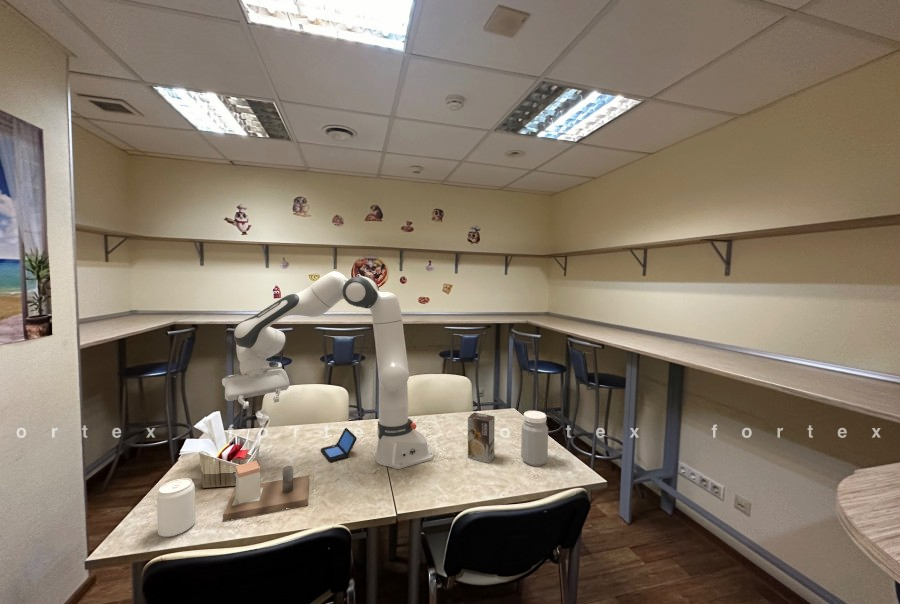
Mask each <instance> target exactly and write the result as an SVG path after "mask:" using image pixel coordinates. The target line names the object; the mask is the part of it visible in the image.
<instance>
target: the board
mask: <svg viewBox="0 0 900 604" xmlns="http://www.w3.org/2000/svg"><path fill="white" fill-rule="evenodd" d="M281 470H282V471H281V473H282V477H281V478H282V479H277V480H273V481H266V482H260V489H261V497H259V498H256V499H253V500H250V501H247V502H244V503H241V504H239V502H238V499H237V496H236V486H235V487H234V488H233V490H232V493H231V495H230V498H229V499H228V502H227V505H226V507H225V509H224V511H223V514H222V522H228V521H231V519H234V520H238V519H237V518H239V519H243V517H244V518H249V517H254V516H253V515H255V516H259V514H260V515H265V514H269V512H270V513H274V512H273V511H276V512H279V511H278V510H281V511H283V510H282V509H286V508H291V509H295V508H294V507H297V508H301V507H300V506H302V507H307V506H308V505H309V494H310V493H309V491H310V474H309V475H302V476H296V477H294V466H292V465H285V466H283V468H282V469H281ZM306 505H307V506H306ZM286 510H287V509H286ZM264 513H265V514H264ZM248 516H249V517H248ZM227 520H228V521H227Z"/></svg>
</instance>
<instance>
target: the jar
mask: <svg viewBox="0 0 900 604" xmlns="http://www.w3.org/2000/svg"><path fill="white" fill-rule="evenodd" d="M520 437H521V440H520V441H521V442H520V443H521V446H520V447H521V448H520V449H521V451H520V457H521V459H522V460H523V462H524V463H525V464H527V465H529V466H533V467H541V466H543V465H545V464H546V463H547V461H548V457H549V456H548V453H549V452H548V451H549V450H548V449H549V447H548V446H549V427H548V425H547V414H546V413H545V412H542V411H540V410H539V411H538V410H527V411H525V412H524V413H523V423H522V424H521V436H520Z"/></svg>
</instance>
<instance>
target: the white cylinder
mask: <svg viewBox="0 0 900 604" xmlns="http://www.w3.org/2000/svg"><path fill="white" fill-rule="evenodd" d="M195 489H196V487H195V483H194V482H193V480H192V478H188V477H185V478H178V479H173V480H171V481H168V482H166V483H163V485H161V486H160V487H159V489H158V492H157V493H156V515H157V516H156V519H157V521H156V522H157V533H158V535H159V536H160V537H174V536H177V534H178V535H180V534H182V533H185V532H186V531H188V530H189V529H190V528H192V527H193V525H195V523H196V494H195V491H196V490H195Z"/></svg>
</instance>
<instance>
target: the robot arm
mask: <svg viewBox="0 0 900 604" xmlns="http://www.w3.org/2000/svg"><path fill="white" fill-rule="evenodd" d="M379 288H380V287H379V285H378V283H377V282H376V281H375V280H374V279H373V278H370V277H368V276H362V275H360V276H353V277H350V278H347V277H346V276H345V275H344V274H342V273H341V272H339V271H334V270H333V271H330V272H328V273H326V274H325V275H323V276H322V277H319V278H318V279H317V280H316V281H314V282H313V283H312V284H311V285H309V286H308V287H306V288H305V289H302V290H301V291H298V292H295V293H293V294H292V293H291V294H287V295H285V296H284V297H282V298H281V299H278V300H277V301H275V302H273V303H272V304H271V305H269V306H267V307H265V308H264V309H262V310H261V311H260V312H258V313H256V314H255V315H253V316H251V317H248V318H246V319H244V320H242V321H240V322H239V323H238V324H237V325H236V327H235V328H234V330H233V338H234V339H233V340H234V341H235V343H236V350H235V351H236V355H237V356H236V357H237V359H238V362H239V371H240V373H237V374H230V375H229V374H228V375H226V376H225V377H223V378H222V379H221V385H222V387H224V399H225V400H226V401H227V402H232V401H238V403H239V404H240V405H241V406H242V408H243V410H246V409H249V408H250V404H249V401H245V399H246V398H251V397H253V398H254V397H257V396H262V395H267V394H268V395H269V394H273V393H275V395H274V396H273V398H272V400H273V403H279V402H280V397H279V396H280V394H281V392H284V391H287V390H288V389H289V388H290V384H291V383H290V378H289V376H288V374H287V371H286V370H285V369H283V365H282V363H281V362H279V361H269V360H267V359H270V358H272V357H273V356H274V357H275V356H276V355H277V354H279V353H281V352H282V351H283V350H284V348H285V346H286V343H287V338H286V334H285V333H284V332H283V331H281V330H279V329H277V328H274V327H272V325H274V324H276V323H277V322H278V321H279V320H282V319H283V318H285V317H288V316H304V317H309V318H314V317H315V318H317V317H320V316H322V315H324V314H325V313H327V312H329V310H330V309H331V308H333V307H334V306H335V305H337V304H338V303H339V302H340V301H342V300H344V301H346V303H348V304H349V305H351V306H353V307H356V308H362V309H368V310H370V313H371V316H372V326H373V327H372V328H373V335H374V343H375V356H376V363H377V364H376V365H377V366H376V367H377V373H378V374H377V375H378V422H377V437H378V440H377V441H378V442H377V445H376V446H377V447H376V453H375V456H374V461H375V462H376V463H377V464H378V465H381V466H384V467H390V468H392V469H395V470H400V469H403V468H407V467H410V466H414V465H418V464H422V463H425V462H428V461H431V460H433V459H434V457H435V455H434V454H435V453H434V450H433V449H432V447H431V446H430V445H429V444H428V442H427V439H426V436H424V434H422V433H421V432H420V431H418V430H416V429H417V427H418V426H417V424H416V423H415V422H413V420H412V419H411V418H409V391H408V382H409V379H410V371H409V363H408V357H407V356H408V355H407V348H406V347H407V346H406V341H405V333H404V332H405V331H404V323H403V314H402V311H401V306H400V301H399V299H398V297H397V295H396V294H395V293H392V292H390V291H380V289H379Z"/></svg>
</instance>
